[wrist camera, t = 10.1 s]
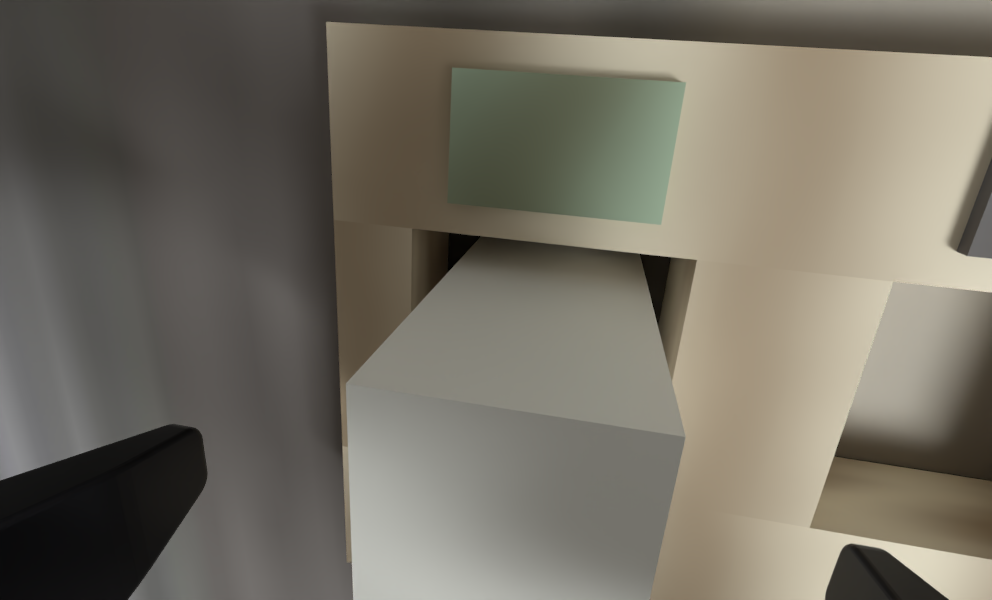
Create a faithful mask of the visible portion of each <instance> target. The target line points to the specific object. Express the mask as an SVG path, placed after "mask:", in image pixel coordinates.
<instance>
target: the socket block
mask: <svg viewBox="0 0 992 600" xmlns="http://www.w3.org/2000/svg"><path fill="white" fill-rule="evenodd" d="M326 34H327V60H328V86H329V112H330V138H331V164H332V189H333V215H334V241H335V267H336V293H337V319H338V345H339V371H340V396H341V422H342V448H343V474H344V500H345V526H346V552H347V562H350V563H352V549H351V521H350V492H349V463H348V434H347V405H346V383H347V382H348V381H349V380H350V378H351V377H352V376H353V375H354V374H355V373H356V372H357V371H358V370H359V369H360V368H361V366H362V365H363V364H364V363H365V362H366V361H367V360H368V359H369V358H370V357H371V356H372V354H373V353H374V352H375V351H376V350H377V349H378V348H379V347H380V346H381V345H382V344H383V343H384V341H385V340H386V339H387V338H388V337H389V336H390V335H391V334H392V333H393V332H394V331H395V329H396V328H397V327H398V326H399V325H400V324H401V323H402V322H403V321H404V320H405V319H406V317H407V316H408V315H409V314H410V313H411V312H412V311H413V310H414V309H415V308H416V307H417V306H418V304H419V303H420V302H421V301H422V300H423V299H424V298H425V297H426V296H427V295H428V294H429V292H430V291H431V290H432V289H433V288H434V287H435V286H436V285H437V284H438V283H439V282H440V281H441V279H442V278H443V277H444V276H445V275H446V274H447V273H448V249H449V233H457V234H466V235H475V236H484V237H493V238H502V239H511V240H520V241H529V242H538V243H547V244H556V245H566V246H575V247H584V248H593V249H602V250H611V251H620V252H629V253H638V254H647V255H656V256H665V257H671V260H670V266H669V271H668V276H667V282H666V287H665V292H664V298H663V303H662V308H661V314H660V319H659V324H658V328H659V332H660V336H661V340H662V344H663V348H664V352H665V356H666V360H667V364H668V368H669V372H670V376H671V380H672V384H673V388H674V392H675V396H676V400H677V404H678V408H679V412H680V416H681V420H682V424H683V428H684V432H685V436H686V438H685V443H684V447H683V452H682V456H681V461H680V465H679V470H678V474H677V478H676V483H675V487H674V492H673V496H672V501H671V505H670V510H669V514H668V519H667V523H666V528H665V532H664V537H663V541H662V546H661V550H660V555H659V559H658V564H657V568H656V573H655V577H654V582H653V586H652V590H651V595H650V599H649V600H825V594H826V589H827V586H828V584H829V581H830V578H831V576H832V573H833V570H834V567H835V565H836V562H837V559H838V557H839V554H840V552H841V550H842V548H843V547H844V546H845V545H847V544H851V543H854V544H859V545H865V546H871V547H876V548H880V549H883V550H885V551H887V552H888V553H890V554H891V555H892V556H894V557H895V558H896V559H897V560H899V561H900V562H901V563H903V564H904V565H905V566H906V567H908V568H909V569H910V570H912V571H913V572H914V573H915V574H917V575H918V576H919V577H921V578H922V579H923V580H924V581H926V582H927V583H928V584H930V585H931V586H932V587H933V588H935V589H936V590H937V591H939V592H940V593H941V594H942V595H944V596H945V597H946V598H948V599H949V600H992V481H987V480H981V479H975V478H968V477H962V476H955V475H949V474H943V473H936V472H930V471H923V470H917V469H911V468H904V467H898V466H891V465H885V464H879V463H872V462H866V461H859V460H853V459H847V458H840V457H834V455H835V452H836V449H837V446H838V443H839V440H840V437H841V434H842V431H843V428H844V426H845V423H846V420H847V417H848V414H849V411H850V408H851V405H852V402H853V399H854V396H855V393H856V390H857V388H858V385H859V382H860V379H861V376H862V373H863V370H864V367H865V364H866V361H867V358H868V355H869V352H870V350H871V347H872V344H873V341H874V338H875V335H876V332H877V329H878V326H879V323H880V320H881V317H882V314H883V312H884V309H885V306H886V303H887V300H888V297H889V294H890V291H891V288H892V285H893V282H901V283H910V284H919V285H928V286H937V287H946V288H955V289H964V290H973V291H982V292H992V57H978V56H959V55H941V54H922V53H903V52H884V51H865V50H847V49H828V48H809V47H790V46H771V45H753V44H734V43H715V42H696V41H677V40H659V39H640V38H621V37H602V36H583V35H565V34H546V33H527V32H508V31H489V30H471V29H452V28H433V27H414V26H396V25H377V24H358V23H339V22H326Z"/></svg>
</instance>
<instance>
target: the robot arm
mask: <svg viewBox="0 0 992 600" xmlns="http://www.w3.org/2000/svg"><path fill="white" fill-rule="evenodd" d="M206 480H207V466H206V459H205V452H204V445H203V438H202V435H201V433H200V431H199V430H198V429H196V428H194V427H188V426H182V425H176V424H170V425H166V426H163V427H160V428H157V429H154V430H151V431H148V432H145V433H142V434H139V435H136V436H133V437H130V438H127V439H124V440H121V441H118V442H115V443H112V444H109V445H106V446H103V447H100V448H97V449H94V450H91V451H88V452H85V453H82V454H79V455H76V456H73V457H70V458H67V459H64V460H61V461H58V462H55V463H52V464H49V465H46V466H43V467H40V468H37V469H34V470H31V471H28V472H25V473H22V474H19V475H16V476H13V477H10V478H7V479H4V480H1V481H0V600H128V599H129V597H130V596H131V595H132V593H133V592H134V591H135V589H136V588H137V587H138V586H139V584H140V583H141V581H142V580H143V578H144V577H145V576H146V574H147V573H148V571H149V570H150V569H151V567H152V566H153V564H154V563H155V561H156V560H157V558H158V557H159V555H160V554H161V552H162V551H163V549H164V548H165V546H166V545H167V543H168V542H169V540H170V539H171V537H172V536H173V534H174V533H175V531H176V530H177V528H178V527H179V525H180V524H181V522H182V521H183V519H184V518H185V516H186V515H187V513H188V512H189V510H190V509H191V507H192V506H193V504H194V503H195V501H196V500H197V498H198V497H199V495H200V494H201V492H202V490H203V488H204V486H205V484H206ZM825 600H949V599H948V598H946V597H945V596H944V595H942V594H941V593H940V592H939V591H937V590H936V589H935V588H933V587H932V586H931V585H930V584H928V583H927V582H926V581H924V580H923V579H922V578H921V577H919V576H918V575H917V574H915V573H914V572H913V571H912V570H910V569H909V568H908V567H906V566H905V565H904V564H903V563H901V562H900V561H899V560H897V559H896V558H895V557H894V556H892V555H891V554H890V553H888V552H887V551H885V550H883V549H880V548H876V547H871V546H865V545H859V544H854V543H851V544H847V545H845V546H844V547H843V548H842V550H841V552H840V554H839V557H838V559H837V562H836V565H835V567H834V570H833V573H832V576H831V578H830V581H829V584H828V586H827V589H826V594H825Z"/></svg>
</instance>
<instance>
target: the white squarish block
mask: <svg viewBox="0 0 992 600" xmlns="http://www.w3.org/2000/svg"><path fill="white" fill-rule="evenodd" d="M346 405H347V434H348V463H349V492H350V521H351V549H352V578H353V600H649V599H650V595H651V590H652V586H653V582H654V577H655V573H656V568H657V564H658V559H659V555H660V550H661V546H662V541H663V537H664V532H665V528H666V523H667V519H668V514H669V510H670V505H671V501H672V496H673V492H674V487H675V483H676V478H677V474H678V470H679V465H680V461H681V456H682V452H683V447H684V443H685V438H686V436H685V432H684V428H683V424H682V420H681V416H680V412H679V408H678V404H677V400H676V396H675V392H674V388H673V384H672V380H671V376H670V372H669V368H668V364H667V360H666V356H665V352H664V348H663V344H662V340H661V336H660V332H659V328H658V324H657V321H656V317H655V313H654V309H653V305H652V301H651V297H650V293H649V289H648V285H647V281H646V277H645V273H644V269H643V265H642V261H641V257H640V254H638V253H629V252H620V251H611V250H602V249H593V248H584V247H575V246H566V245H556V244H547V243H538V242H529V241H520V240H511V239H502V238H493V237H484V236H481V237H480V238H479V239H478V240H477V241H476V242H475V244H474V245H473V246H472V247H471V248H470V249H469V250H468V251H467V252H466V253H465V254H464V255H463V257H462V258H461V259H460V260H459V261H458V262H457V263H456V264H455V265H454V266H453V267H452V269H451V270H450V271H449V272H448V273H447V274H446V275H445V276H444V277H443V278H442V279H441V281H440V282H439V283H438V284H437V285H436V286H435V287H434V288H433V289H432V290H431V291H430V292H429V294H428V295H427V296H426V297H425V298H424V299H423V300H422V301H421V302H420V303H419V304H418V306H417V307H416V308H415V309H414V310H413V311H412V312H411V313H410V314H409V315H408V316H407V317H406V319H405V320H404V321H403V322H402V323H401V324H400V325H399V326H398V327H397V328H396V329H395V331H394V332H393V333H392V334H391V335H390V336H389V337H388V338H387V339H386V340H385V341H384V343H383V344H382V345H381V346H380V347H379V348H378V349H377V350H376V351H375V352H374V353H373V354H372V356H371V357H370V358H369V359H368V360H367V361H366V362H365V363H364V364H363V365H362V366H361V368H360V369H359V370H358V371H357V372H356V373H355V374H354V375H353V376H352V377H351V378H350V380H349V381H348V382H347V383H346Z"/></svg>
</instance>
